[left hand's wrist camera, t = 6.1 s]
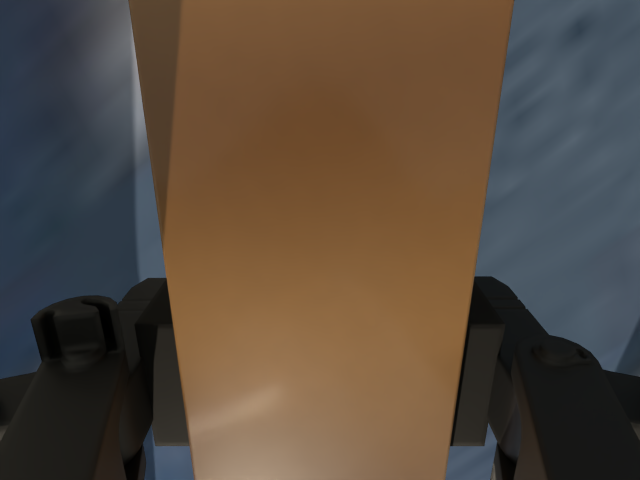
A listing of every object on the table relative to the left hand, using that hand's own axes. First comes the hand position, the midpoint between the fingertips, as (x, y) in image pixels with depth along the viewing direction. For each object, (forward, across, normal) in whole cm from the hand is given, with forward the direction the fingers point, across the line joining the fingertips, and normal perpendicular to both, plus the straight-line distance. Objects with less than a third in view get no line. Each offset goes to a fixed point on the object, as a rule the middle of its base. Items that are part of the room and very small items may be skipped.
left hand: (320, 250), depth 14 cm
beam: (+1, 0, -20) cm, 20 cm away
